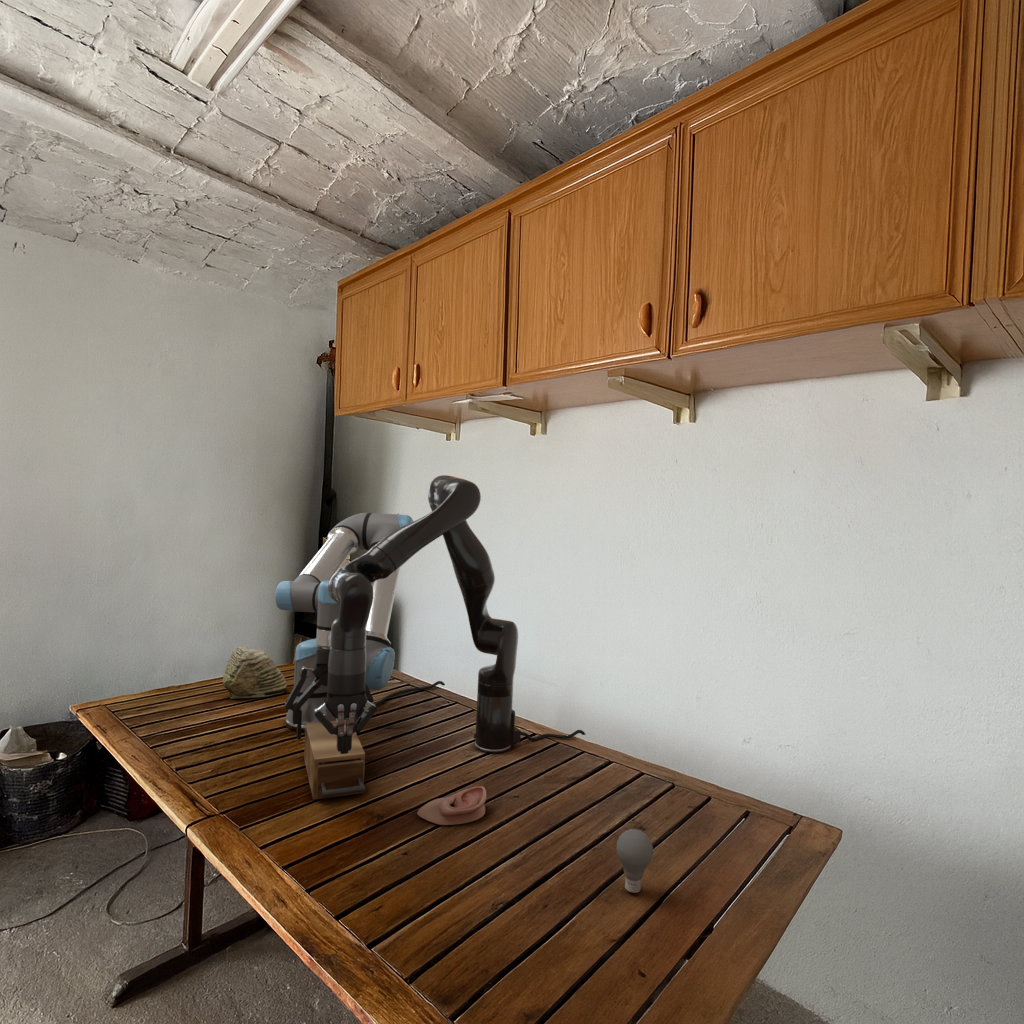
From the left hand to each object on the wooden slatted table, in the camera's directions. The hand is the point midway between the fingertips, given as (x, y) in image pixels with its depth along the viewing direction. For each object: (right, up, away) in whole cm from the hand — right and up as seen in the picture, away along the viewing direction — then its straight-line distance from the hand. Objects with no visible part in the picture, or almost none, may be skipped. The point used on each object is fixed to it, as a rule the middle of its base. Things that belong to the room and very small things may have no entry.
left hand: (328, 734), depth 151 cm
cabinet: (+3, -7, -7) cm, 10 cm away
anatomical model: (+32, -8, -22) cm, 39 cm away
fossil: (-37, -4, +47) cm, 60 cm away
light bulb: (+64, -10, -45) cm, 79 cm away
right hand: (+9, +4, -21) cm, 23 cm away
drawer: (+5, -6, -11) cm, 14 cm away
